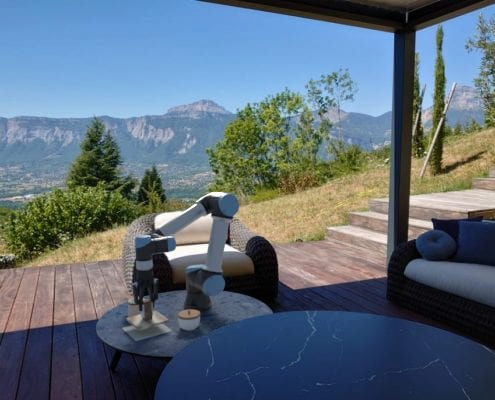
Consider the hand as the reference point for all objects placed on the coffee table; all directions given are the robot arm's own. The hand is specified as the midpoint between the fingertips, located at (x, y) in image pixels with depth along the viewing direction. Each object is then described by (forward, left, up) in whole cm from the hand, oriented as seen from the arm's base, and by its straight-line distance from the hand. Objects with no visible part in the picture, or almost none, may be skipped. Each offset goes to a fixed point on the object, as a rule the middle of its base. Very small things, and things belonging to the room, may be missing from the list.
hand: (147, 315), depth 195 cm
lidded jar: (-17, +11, -7) cm, 21 cm away
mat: (0, 0, -7) cm, 7 cm away
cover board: (0, 0, -3) cm, 3 cm away
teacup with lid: (-2, -20, -7) cm, 21 cm away
